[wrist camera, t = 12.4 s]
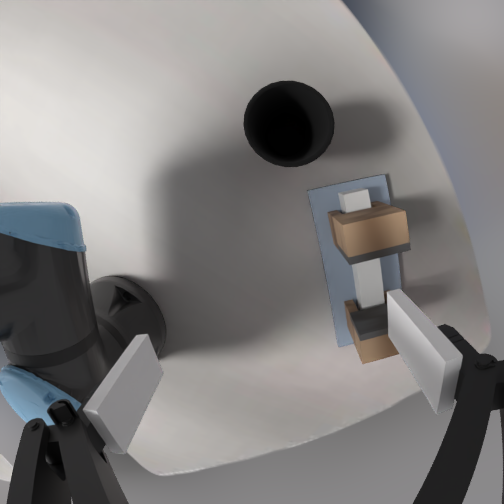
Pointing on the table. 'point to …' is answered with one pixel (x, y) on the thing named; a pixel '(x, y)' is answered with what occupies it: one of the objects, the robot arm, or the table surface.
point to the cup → (289, 123)
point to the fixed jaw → (370, 232)
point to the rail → (335, 265)
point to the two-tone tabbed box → (370, 331)
